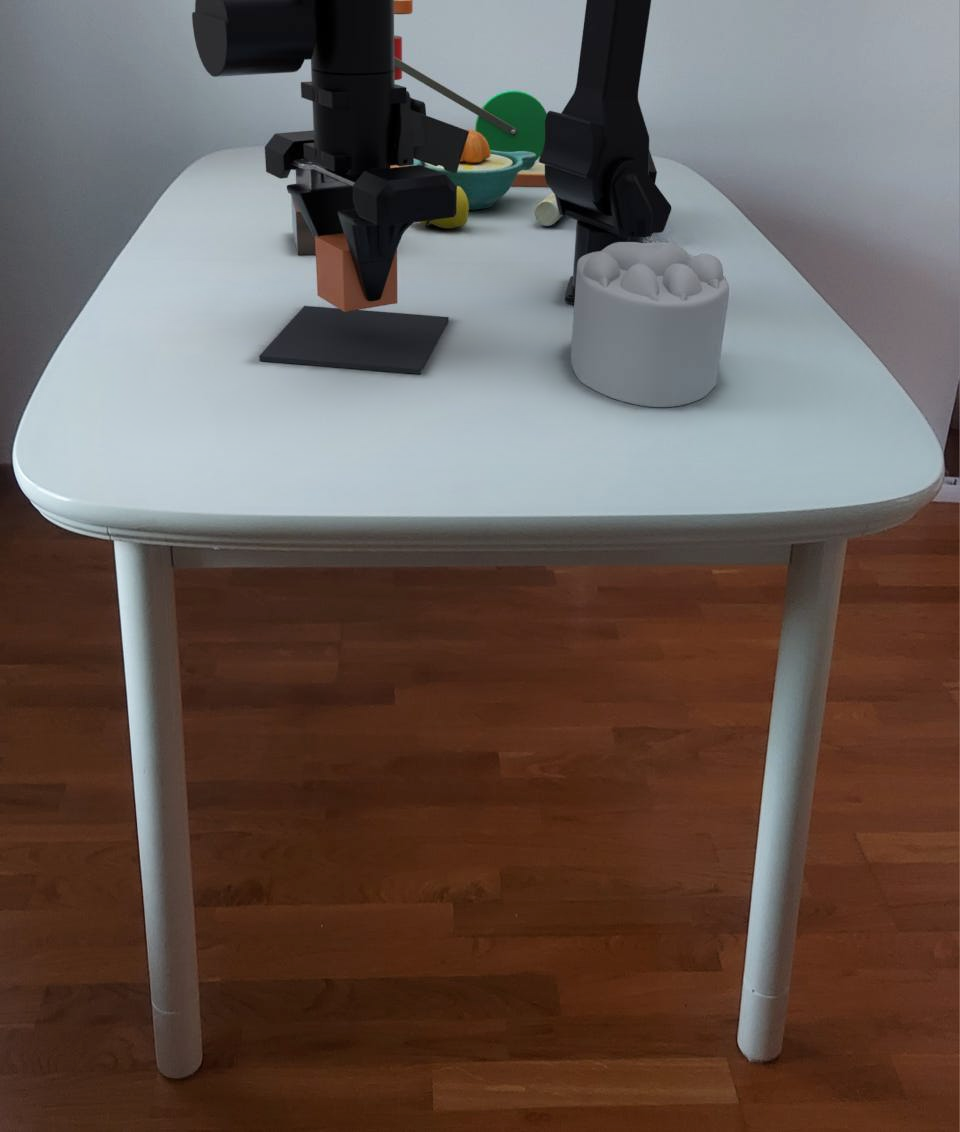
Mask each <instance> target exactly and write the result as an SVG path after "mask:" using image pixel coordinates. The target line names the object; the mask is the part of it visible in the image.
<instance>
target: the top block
mask: <svg viewBox="0 0 960 1132" xmlns="http://www.w3.org/2000/svg"><path fill="white" fill-rule="evenodd" d="M315 248H316V254H315V266H316V267H315V268H316V269H315V270H316V271H315V273H316V291H317V292H316V293H317V297H319V298H320V299H322V300H324V301H326V302H327V303H329V304H331V305H332V306H334V308H339V309H340V310H342V311H344V312H348V311H354V310H366V309H371V308H377V307H383V306H390V305H396V304H398V249H397V250H396V253H395V256H394V259H393V262H392V265H391V268H390V272H389V275H388V278H387V281H386V284H385V287H384V290H383V294H382V297H381V299H380V300H377V301H367V300H366V299H365V296H364V293H363V290H362V288H361V285H360V282H359V279H358V276H357V273H356V270H355V266H354V263H353V260H352V257H351V254H350V250H349V247H348V244H347V241H346V237H345V235H344V233H339V234H332V235H324V236H316V237H315Z"/></svg>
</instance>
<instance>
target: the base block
mask: <svg viewBox="0 0 960 1132" xmlns="http://www.w3.org/2000/svg"><path fill="white" fill-rule="evenodd" d="M290 200H291V221H292V236H293V240H294V244H295V249H296V253H297V255H299V256H304V255H305V256H307V255H308V256H309V255H316V248H315V239H314V236H313V234H312V232H311V230H310V229H309V227H308V225H307V223H306V221H305V219H304V217H303V215H302V213H301V212H300V210H299V208H298V206H297V204H296V202H295V200H294V198H293V197H292V195H291V194H290Z"/></svg>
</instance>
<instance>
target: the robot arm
mask: <svg viewBox="0 0 960 1132" xmlns="http://www.w3.org/2000/svg"><path fill="white" fill-rule="evenodd" d="M651 5H652V0H586V3H585V10H584V11H585V12H584V19H583V20H584V21H583V27H582V35H581V45H580V52H579V60H578V67H577V78H576V85H575V89H574V91H573V94H572V95H571V97H570V99H569V100H568V102H567V103H566V105H565V106H564V108H563V109H562V111H561V112H559V111H553V110H549V111H547V112H546V113H547V116H546V119H545V143H544V147H543V151H542V154H541V156H540V157H539V158H538V163H542V164H545V179H546V183H547V185H549V187H548V188H550V190H551V191H552V192H553V193H554V194H555V197H556V201H557V206H558V210H559V214H560V215H562V217H567V218H571V219H572V220H575V221H576V225H575V226H576V227H575V228H576V229H575V241H574V255H573V256H574V257H573V267H572V268H573V271H572V275H571V276H570V277H569V281H568V283H567V287H566V290H565V294H564V302H565V303H570V304H574V303H575V289H576V275H577V263H578V260H579V259H580V258H581V257H582V256H584V255H586V254H589V253H592V252H598V251H602V250H603V249H604V248H606V247H607V246H609V245H611V244H613V243H617V242H638V243H644V239H645V238H650V237H652V235H653V234H658V233H659V234H660V233H663V232H664V230H665V228H666V225H667V224H668V221H669V217H670V215H671V212H672V205H671V203H670V202H669V201H668V199H667V198H666V197H665V195H664V194H663V193H662V191H661V190H660V189H659V187H658V186H657V184H656V182H655V183H654V182H653V180H652V179H651V178H650V176H649V150H650V134H649V132H648V128H647V125H646V121H645V118H644V115H643V111H642V108H641V105H640V101H639V90H640V82H641V75H642V67H643V61H644V54H645V46H646V40H647V33H648V26H649V21H650V20H649V19H650V12H651V8H652V7H651ZM191 22H192V30H193V37H194V41H195V42H194V43H195V47H196V50H197V53H198V56H199V59H200V61H201V63H202V66H203V67H204V69H205V71H206V72H207V73H208V74H209V75H210V76H212V77H214V78H216V77H221V78H222V77H237V76H252V75H271V74H272V75H273V74H289V73H290V74H291V73H296V72H298V71H300V70H301V68H302V67H303V64H304V62H305V61H306V60H307V61H309V60H310V72H311V74H310V75H311V81H300V96H301V97H300V98H302V99H304V100H307V101H311V102H312V119H313V120H312V123H313V125H312V126H313V127H312V128H313V129H312V130H303V131H302V130H301V131H290V132H276V133H274V134H273V135H272V136H271V138H270V139H269V141H268V142H267V143H266V144H265V146H264V160H265V161H264V162H265V172H266V173H267V174H270V175H272V176H274V177H276V178H277V179H280V180H282V179H288V178H289V175H290V173H291V171H295V182H296V183H291V184H288V185H286V191H287V193H288V194H289V195H290V196H291V195H292V197H293V198H294V200H295V202H296V204H297V206H298V208H299V210H300V212H301V213H302V215H303V217H304V219H305V221H306V223H307V225H308V227H309V229H310V230H311V232H312V234H313V236H314V239H315V237H316V236H324V235H332V234H339V233H344V235H345V237H346V241H347V244H348V247H349V250H350V254H351V257H352V260H353V263H354V266H355V270H356V273H357V276H358V279H359V282H360V285H361V288H362V290H363V293H364V296H365V299H366V300H367V301H377V300H380V299H381V297H382V294H383V290H384V287H385V284H386V281H387V278H388V275H389V272H390V268H391V265H392V262H393V259H394V256H395V253H396V250H397V251H398V247H399V245H400V242H401V239H402V237H403V235H404V233H405V232H406V230H408V229H409V228H410V227H411V226H412V225H413V224H414V223H421V221H429V220H436V219H444V218H451V217H454V216H455V215H456V210H457V187H456V185H455V184H454V183H453V182H452V181H451V180H450V179H449V178H448V176H447V175H446V174H443V173H441V172H438V171H435V170H433V169H430V168H427V167H425V166H422V165H414V159H416V160H419V161H422V162H425V163H428V164H431V165H434V166H438V165H440V166H443V168H444V170H446V171H448V172H451V173H455V174H456V173H457V170H458V166H459V163H460V160H461V157H462V153H463V150H464V147H465V144H466V140H467V137H468V134H469V131H467V130H468V129H464V128H462V127H459V126H456V125H454V124H450V123H448V122H445V121H442V120H440V119H437V118H435V117H432V116H429V115H427V109H426V108H427V107H426V103H425V102H424V101H422V100H420V99H419V100H418V99H416V98H413V97H411V94H410V92H409V91H408V90H407V87H406V86H403V85H400V84H396V83H395V81H396V80H395V70H394V35H395V14H394V0H195V3H194V11H193V12H192V13H191ZM393 165H397V166H404V167H394V168H390V166H393ZM408 165H414V166H408Z"/></svg>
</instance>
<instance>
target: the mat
mask: <svg viewBox="0 0 960 1132" xmlns="http://www.w3.org/2000/svg"><path fill="white" fill-rule="evenodd" d="M449 318H450V316H443V315H442V316H441V315H429V314H418V313H417V314H415V313H404V312H403V313H402V312H390V311H389V312H388V311H380V310H379V311H377V310H366V309H360V310H354V311H348V312H344V311H342V310H340V309H339V308H337V307H327V306H313V305H304V306H302V308H300V310H299V311H298V312H297V313H296V315H294V316H293V318H292V319H291V320H290V321H289V322H288V323H287V325H285V326H284V328H283V329H281V331H280V332H279V333H278V334H277V335H276V336H275V338H274V339H273V340H272V341H271V342H270V343H269V344H268V345H267V346H266V348H265V349H264V350H263V351H262V352H261V353H260V354H259V355H258V360H259V361H260V362H269V363H270V362H271V363H283V364H294V365H307V366H317V367H331V368H343V369H354V370H364V371H365V370H366V371H377V372H378V371H379V372H389V373H400V374H401V373H402V374H414V375H421V373H422V372H423V369H424V368H425V366H426V364H427V362H428V360H429V359H430V357H431V356H432V353H433V352H434V349H435V347H436V345H437V344H438V342H439V340H440V338H441V336H442V334H443V332H444V331H445V329H446V327H447V325H448V324H449V321H450V319H449Z"/></svg>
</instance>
